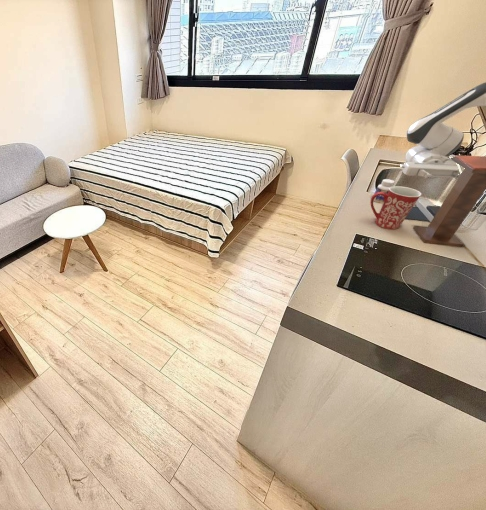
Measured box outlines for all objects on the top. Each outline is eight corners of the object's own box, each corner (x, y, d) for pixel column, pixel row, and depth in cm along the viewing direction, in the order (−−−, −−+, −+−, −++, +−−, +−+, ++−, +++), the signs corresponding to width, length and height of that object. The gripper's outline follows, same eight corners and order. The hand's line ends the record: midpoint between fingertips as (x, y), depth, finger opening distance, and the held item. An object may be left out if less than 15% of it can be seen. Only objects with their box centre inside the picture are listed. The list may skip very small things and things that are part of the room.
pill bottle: (375, 203, 118) (384, 183, 113) (369, 197, 122) (378, 178, 117) (389, 203, 117) (399, 183, 112) (382, 198, 121) (392, 178, 116)
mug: (401, 222, 105) (420, 188, 97) (403, 233, 99) (423, 198, 91) (362, 214, 111) (376, 182, 103) (361, 224, 105) (376, 191, 97)
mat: (429, 208, 112) (429, 207, 111) (442, 222, 103) (443, 222, 102) (393, 205, 115) (393, 204, 115) (403, 219, 106) (403, 218, 106)
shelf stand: (446, 230, 98) (496, 156, 83) (463, 249, 90) (523, 170, 74) (411, 226, 102) (454, 155, 86) (424, 244, 93) (474, 167, 77)
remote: (425, 203, 115) (429, 195, 113) (444, 223, 101) (449, 216, 99) (413, 202, 116) (417, 194, 114) (430, 222, 103) (435, 214, 101)
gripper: (402, 156, 114) (414, 167, 104) (466, 158, 108) (486, 170, 98) (395, 171, 118) (406, 183, 108) (456, 174, 112) (475, 187, 101)
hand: (445, 177), depth 103 cm, fingers open, 8 cm apart
